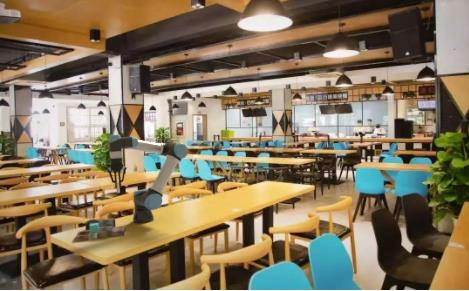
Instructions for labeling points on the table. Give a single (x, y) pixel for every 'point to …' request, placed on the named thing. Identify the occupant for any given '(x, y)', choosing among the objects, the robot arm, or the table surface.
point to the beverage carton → (87, 224)
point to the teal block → (94, 228)
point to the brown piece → (101, 231)
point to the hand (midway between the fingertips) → (118, 192)
